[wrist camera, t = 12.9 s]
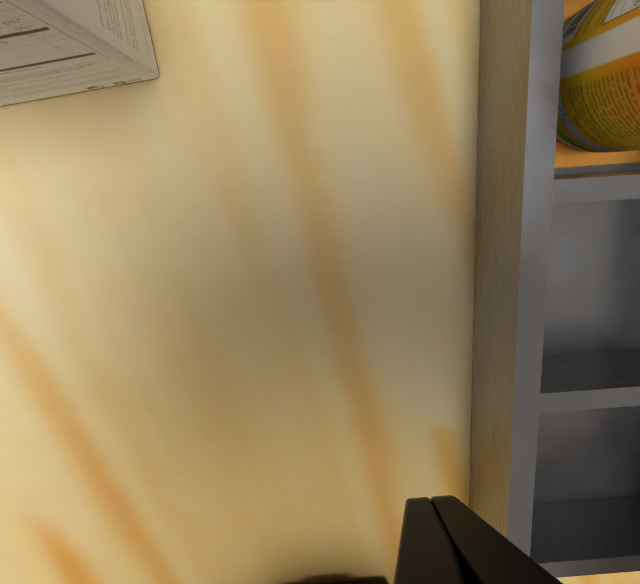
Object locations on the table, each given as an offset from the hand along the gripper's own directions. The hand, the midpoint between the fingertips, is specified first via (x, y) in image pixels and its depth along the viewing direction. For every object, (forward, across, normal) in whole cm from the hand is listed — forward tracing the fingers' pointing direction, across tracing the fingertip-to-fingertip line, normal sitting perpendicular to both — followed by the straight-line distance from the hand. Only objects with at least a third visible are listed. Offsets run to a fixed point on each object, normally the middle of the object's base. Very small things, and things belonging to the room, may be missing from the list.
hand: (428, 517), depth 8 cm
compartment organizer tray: (+13, -10, -1) cm, 16 cm away
